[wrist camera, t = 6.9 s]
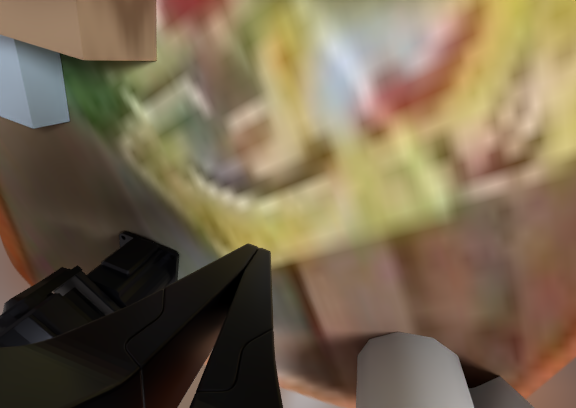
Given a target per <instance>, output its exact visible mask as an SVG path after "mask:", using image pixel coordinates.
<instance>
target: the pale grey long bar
mask: <svg viewBox="0 0 576 408" xmlns="http://www.w3.org/2000/svg"><path fill="white" fill-rule="evenodd" d="M0 116H1V117H4V118H6V119H9V120H12V121H14V122H17V123H20V124H22V125H25V126H28V127H30V128H33V129H34V128H39V127H44V126H49V125H54V124H59V123H65V122H70V119H69V112H68V106H67V99H66V92H65V85H64V78H63V72H62V65H61V58H60V53H58V52H55V51H52V50H49V49H45V48H42V47H39V46H36V45H32V44H29V43H26V42H22V41H19V40H16V39H13V38H9V37H6V36H3V35H0Z"/></svg>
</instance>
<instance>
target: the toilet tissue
mask: <svg viewBox="0 0 576 408" xmlns="http://www.w3.org/2000/svg"><path fill="white" fill-rule="evenodd" d="M356 408H534V407H533V406H532V405H531V404H530V403H529V402H528V401H527V400H525V399H524V398H523V397H522V396H521V395H520V394H519V393H518V392H517V391H516V390H515V389H513V388H512V387H511V386H510V385H509V384H508V383H507V382H506V381H505V380H504V379H503V378H501V377H500V376H499V377H497V378H495V379H493V380H491V381H488V382H486V383H484V384H482V385H480V386H477V387H475V388H469V389H468V386H467V383H466V380H465V376H464V373H463V370H462V367H461V364H460V361H459V357H458V356H457V355H456V354H455V353H453V352H452V351H450V350H449V349H448V348H446V347H445V346H444V345H442V344H441V343H439V342H438V341H437V340H435V339H434V338H431V337H425V336H419V335H414V334H408V333H403V332H395V333H391V334H387V335H384V336H380V337H376V338H372V339H369V341H368V342H367V343H366V345H365V346H364V347H363V349H362V350H361V352H360V353H359V354H358V356H357V391H356Z"/></svg>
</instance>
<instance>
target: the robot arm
mask: <svg viewBox="0 0 576 408" xmlns="http://www.w3.org/2000/svg"><path fill="white" fill-rule="evenodd" d="M119 239H120V248H119V249H118V250H116V251H115V252H114V253H112V254H111V255H110V256H108V257H107V258H106V259H104V260H103V261H102V264H100V265H99V266H98V267H96V268H95V269H94V270H92V271H91V272H90V273H89V274H87V275H86V274H85V273H84V272H82V269H81V268H80V267H79V266H78V265H77V266H76V267H74V268H73V269H71V270H70V269H66V268H63V267H61V268H60V269H59V270H57V271H56V272H54V273H53V274H51V275H50V276H48V277H47V278H45V279H43V280H42V281H40V282H39V283H37V284H35V285H33V286H32V287H30V288H28V289H27V290H25V291H23V292H22V293H20V294H18V295H16V296H15V297H13V298H11V299H10V300H9V301H7V302H6V303H5V305H4V310H3V313H2V315H0V408H177V407H178V406H179V404H180V402H181V400H182V399H183V397H184V395H185V394H186V392H187V390H188V389H189V387H190V386H191V384H192V382H193V381H194V379H195V377H196V376H197V374H198V372H199V371H200V369H201V367H202V366H203V364H204V362H205V361H206V359H207V357H208V356H209V354H210V352H211V351H212V353H211V355H210V358H209V360H208V363H207V365H206V368H205V370H204V373H203V375H202V378H201V380H200V383H199V385H198V388H197V390H196V394H195V396H194V398H193V400H192V403H191V405H190V408H283V405H282V399H281V394H280V388H279V382H278V376H277V369H276V361H275V350H274V332H273V305H272V277H271V253H270V251H268V250H266V249H263V248H258V247H257V246H254V245H251V244H246V245H244V246H242V247H240V248H238V249H236V250H235V251H233V252H231V253H229V254H227V255H225V256H223V257H221V258H219V259H218V260H216V261H214V262H212V263H210V264H208V265H206V266H204V267H202V268H201V269H199V270H197V271H195V272H193V273H191V274H189V275H187V276H186V277H184V278H182V279H180V280H178V281H177V277H178V264H179V254H178V253H177V252H176V251H174V250H171V249H169V248H166V247H164V246H161V245H159V244H156V243H153V242H151V241H148V240H146V239H143V238H141V237H138V236H136V235H133V234H131V233H128V232H125V231H124V232H122V233H121V234H120V235H119ZM53 293H54V294H53ZM213 347H214V348H213ZM212 349H213V350H212Z"/></svg>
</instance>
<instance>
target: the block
mask: <svg viewBox="0 0 576 408" xmlns="http://www.w3.org/2000/svg"><path fill="white" fill-rule="evenodd" d="M0 35H3V36H6V37H9V38H13V39H16V40H19V41H22V42H26V43H29V44H32V45H36V46H39V47H42V48H45V49H49V50H52V51H55V52H58V53H62V54H65V55H68V56H71V57H75V58H78V59H81V60H112V61H157V41H156V0H0Z"/></svg>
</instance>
